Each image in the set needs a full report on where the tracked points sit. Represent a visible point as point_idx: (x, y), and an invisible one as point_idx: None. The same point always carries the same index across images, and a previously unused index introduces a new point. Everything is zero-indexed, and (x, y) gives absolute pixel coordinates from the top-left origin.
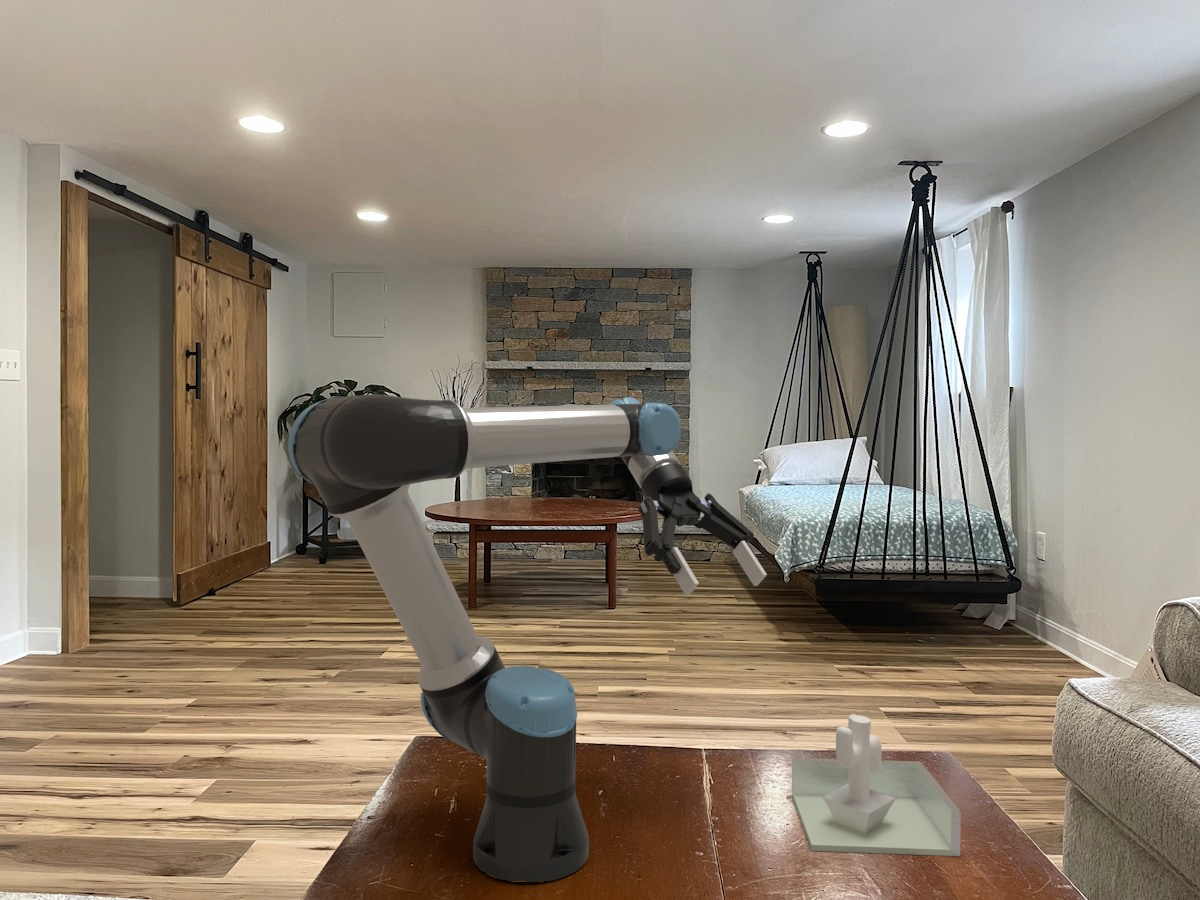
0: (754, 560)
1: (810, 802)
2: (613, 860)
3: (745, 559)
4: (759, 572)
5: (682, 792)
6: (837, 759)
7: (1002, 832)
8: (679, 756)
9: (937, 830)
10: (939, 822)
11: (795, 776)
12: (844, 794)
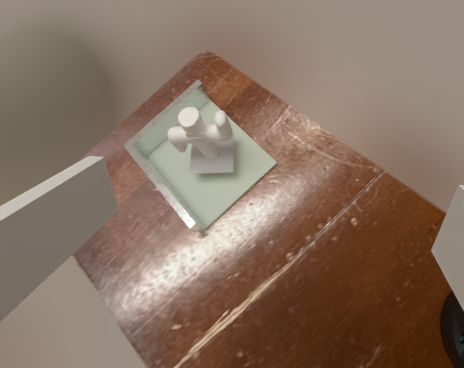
0: (48, 189)
1: (209, 207)
2: (433, 266)
3: (36, 241)
4: (94, 173)
5: (269, 319)
6: (230, 137)
7: (155, 100)
8: None
9: None
10: None
11: (199, 223)
12: (214, 162)
